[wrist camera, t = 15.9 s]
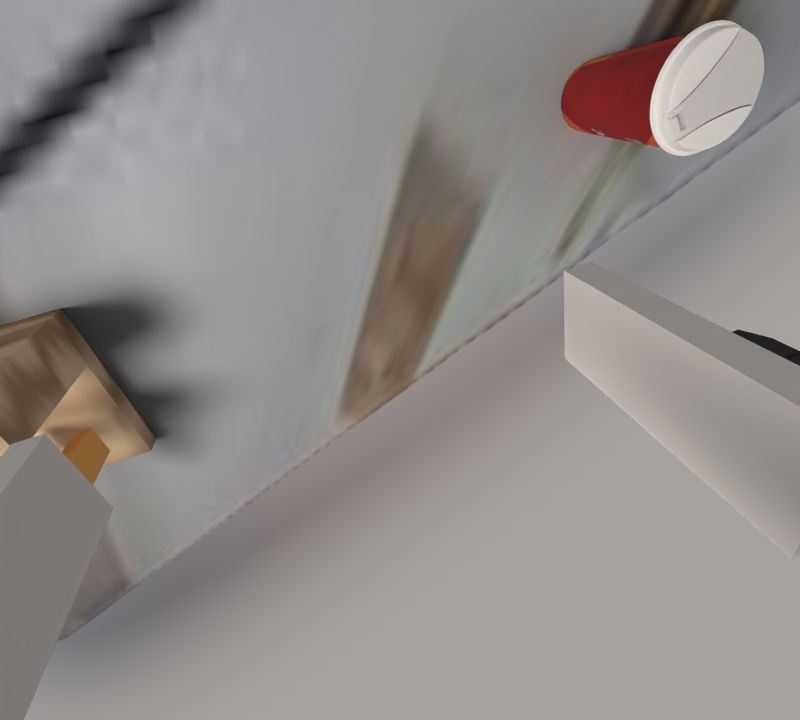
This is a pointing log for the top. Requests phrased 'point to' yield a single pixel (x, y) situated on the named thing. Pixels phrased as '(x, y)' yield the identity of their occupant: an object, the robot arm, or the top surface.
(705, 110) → the paper cup
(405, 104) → the top surface
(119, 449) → the wooden l-shaped stand
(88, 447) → the orange u-shaped bracket
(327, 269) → the top surface
